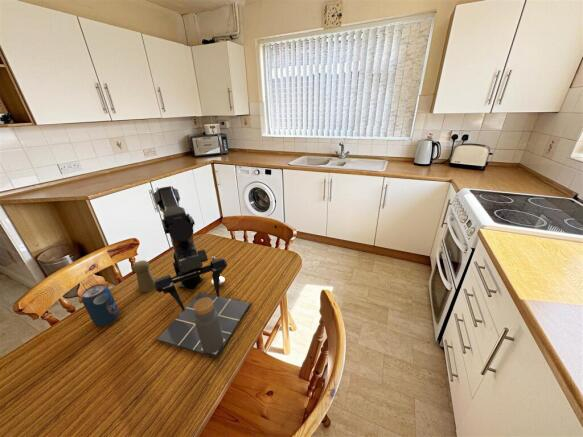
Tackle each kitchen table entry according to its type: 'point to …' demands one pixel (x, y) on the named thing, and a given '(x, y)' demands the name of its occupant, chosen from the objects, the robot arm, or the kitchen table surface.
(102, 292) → the soda can
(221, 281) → the screw
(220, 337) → the bottle
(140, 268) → the pepper shaker
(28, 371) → the kitchen table surface
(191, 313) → the grid board
